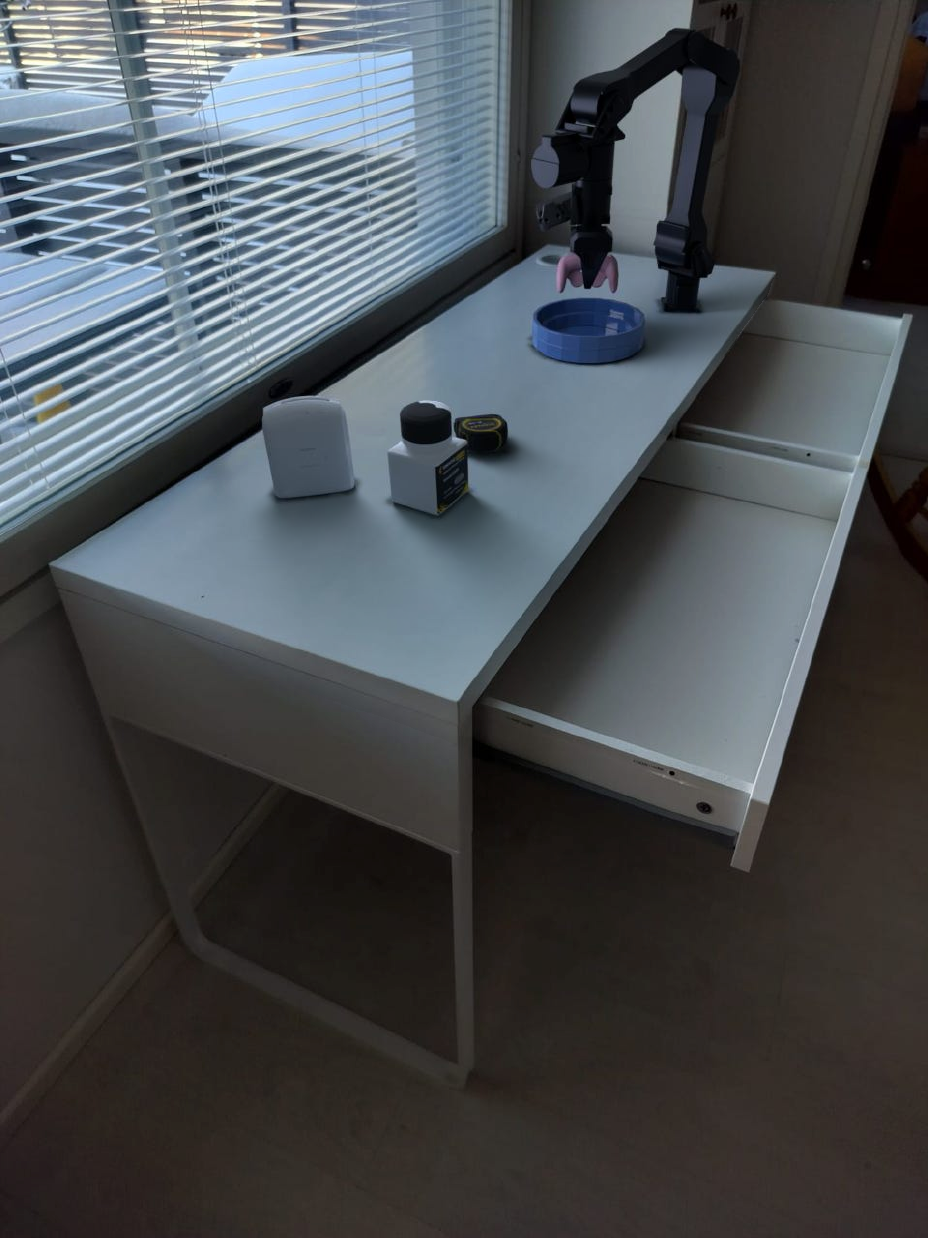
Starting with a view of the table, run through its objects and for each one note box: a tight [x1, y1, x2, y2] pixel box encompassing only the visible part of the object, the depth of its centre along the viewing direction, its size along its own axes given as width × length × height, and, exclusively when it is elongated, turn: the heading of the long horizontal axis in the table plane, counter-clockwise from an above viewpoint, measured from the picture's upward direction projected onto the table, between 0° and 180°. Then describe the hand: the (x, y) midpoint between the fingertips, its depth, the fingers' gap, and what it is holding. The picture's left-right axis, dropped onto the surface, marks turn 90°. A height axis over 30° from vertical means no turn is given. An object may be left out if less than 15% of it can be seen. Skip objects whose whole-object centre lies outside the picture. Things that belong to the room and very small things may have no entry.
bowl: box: [531, 297, 646, 364], centre depth 147 cm, size 18×18×4 cm
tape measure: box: [452, 413, 509, 454], centre depth 120 cm, size 7×7×4 cm
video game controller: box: [555, 251, 620, 294], centre depth 142 cm, size 10×5×7 cm, turn 85°
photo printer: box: [261, 395, 356, 499], centre depth 109 cm, size 10×4×12 cm, turn 100°
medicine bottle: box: [386, 399, 469, 516], centre depth 107 cm, size 7×7×12 cm
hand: (587, 282), depth 143 cm, fingers closed on video game controller, 6 cm apart
